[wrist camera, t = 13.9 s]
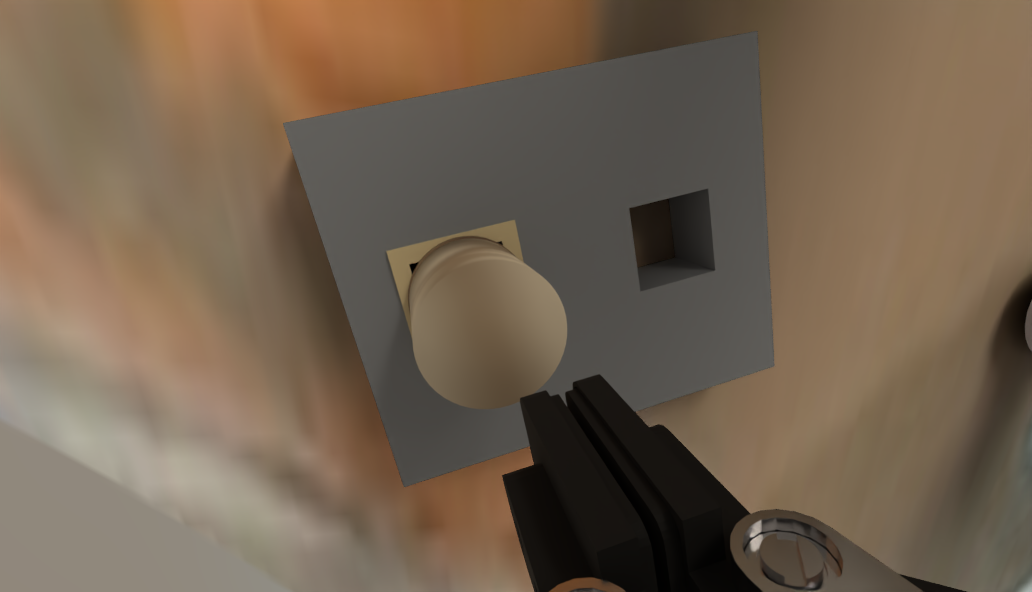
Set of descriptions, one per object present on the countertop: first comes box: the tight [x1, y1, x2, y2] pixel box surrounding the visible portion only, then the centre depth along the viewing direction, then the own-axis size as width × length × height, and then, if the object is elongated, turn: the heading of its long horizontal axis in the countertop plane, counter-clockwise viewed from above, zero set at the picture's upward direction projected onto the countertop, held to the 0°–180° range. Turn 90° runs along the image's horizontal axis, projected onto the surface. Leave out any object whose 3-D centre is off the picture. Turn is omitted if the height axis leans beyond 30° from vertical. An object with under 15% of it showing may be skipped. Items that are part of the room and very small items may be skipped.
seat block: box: [283, 31, 774, 487], centre depth 26 cm, size 22×18×4 cm
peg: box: [408, 236, 567, 409], centre depth 22 cm, size 6×6×10 cm
